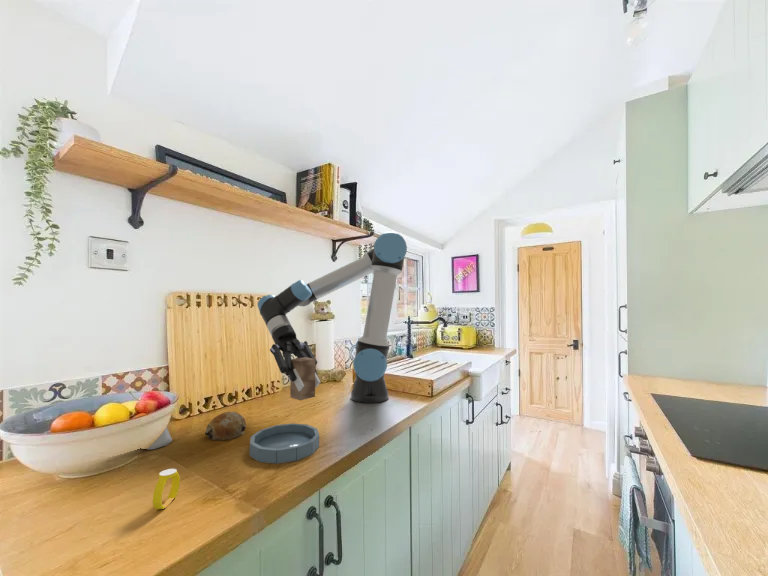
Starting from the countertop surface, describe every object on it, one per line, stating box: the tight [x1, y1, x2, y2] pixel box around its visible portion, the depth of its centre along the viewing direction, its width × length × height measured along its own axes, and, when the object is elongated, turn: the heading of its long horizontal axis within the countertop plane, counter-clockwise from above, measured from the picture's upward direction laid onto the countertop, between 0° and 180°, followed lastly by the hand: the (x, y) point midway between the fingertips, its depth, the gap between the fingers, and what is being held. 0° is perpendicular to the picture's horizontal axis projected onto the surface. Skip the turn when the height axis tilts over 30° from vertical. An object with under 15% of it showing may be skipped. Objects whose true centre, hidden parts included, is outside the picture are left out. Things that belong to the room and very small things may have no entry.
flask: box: [147, 427, 173, 450], centre depth 85 cm, size 7×7×10 cm
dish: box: [249, 422, 320, 464], centre depth 84 cm, size 17×17×3 cm
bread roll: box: [204, 411, 247, 441], centre depth 92 cm, size 10×10×8 cm
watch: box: [152, 468, 181, 510], centre depth 60 cm, size 6×3×6 cm, turn 4°
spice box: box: [289, 357, 316, 401], centre depth 103 cm, size 6×6×12 cm
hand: (309, 386), depth 100 cm, fingers closed on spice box, 5 cm apart
